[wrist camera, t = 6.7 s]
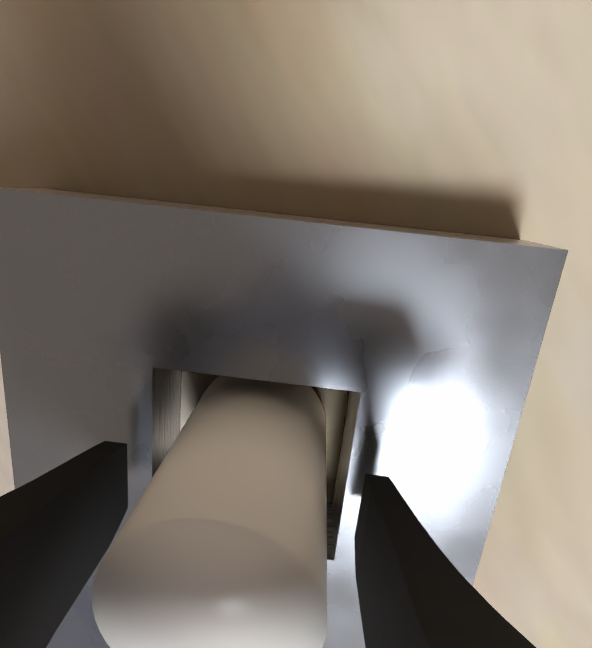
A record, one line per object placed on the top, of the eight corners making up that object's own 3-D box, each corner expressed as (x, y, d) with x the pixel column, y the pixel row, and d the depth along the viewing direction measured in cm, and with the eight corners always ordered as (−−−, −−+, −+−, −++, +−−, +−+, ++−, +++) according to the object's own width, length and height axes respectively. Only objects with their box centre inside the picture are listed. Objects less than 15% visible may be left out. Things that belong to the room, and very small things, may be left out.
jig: (409, 682, 18) (422, 759, 15) (75, 635, 18) (37, 702, 16) (520, 239, 12) (568, 250, 10) (46, 188, 13) (-18, 186, 10)
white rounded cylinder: (314, 488, 15) (306, 718, 8) (192, 466, 15) (89, 678, 9) (336, 375, 14) (348, 542, 7) (203, 352, 14) (93, 497, 7)
